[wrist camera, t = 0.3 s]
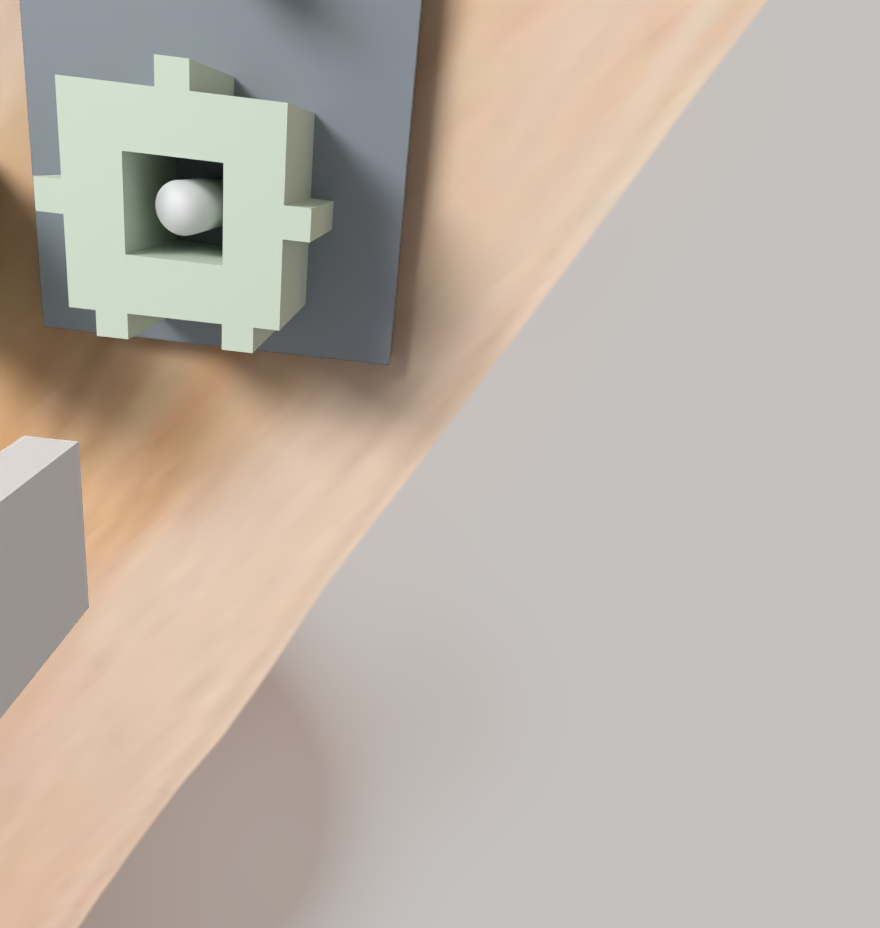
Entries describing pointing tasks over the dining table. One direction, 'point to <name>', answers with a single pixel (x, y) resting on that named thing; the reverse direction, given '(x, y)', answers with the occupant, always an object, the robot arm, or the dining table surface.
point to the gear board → (222, 169)
